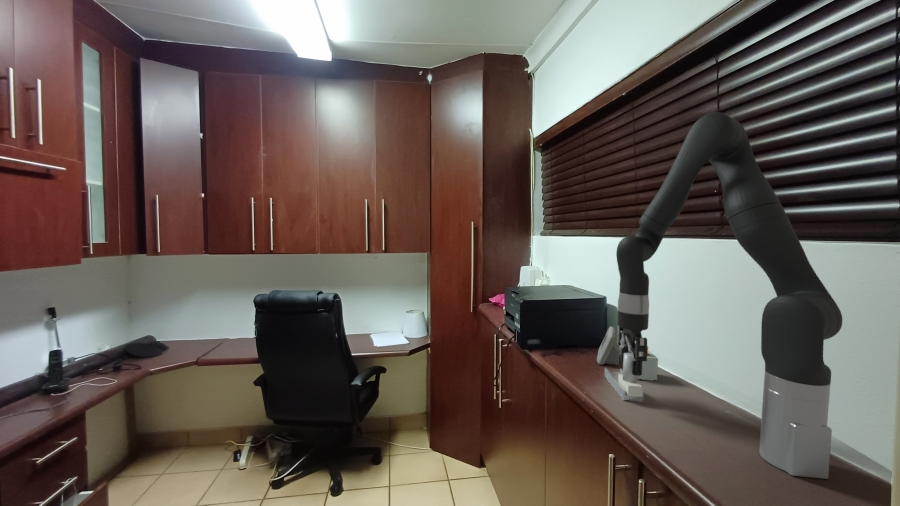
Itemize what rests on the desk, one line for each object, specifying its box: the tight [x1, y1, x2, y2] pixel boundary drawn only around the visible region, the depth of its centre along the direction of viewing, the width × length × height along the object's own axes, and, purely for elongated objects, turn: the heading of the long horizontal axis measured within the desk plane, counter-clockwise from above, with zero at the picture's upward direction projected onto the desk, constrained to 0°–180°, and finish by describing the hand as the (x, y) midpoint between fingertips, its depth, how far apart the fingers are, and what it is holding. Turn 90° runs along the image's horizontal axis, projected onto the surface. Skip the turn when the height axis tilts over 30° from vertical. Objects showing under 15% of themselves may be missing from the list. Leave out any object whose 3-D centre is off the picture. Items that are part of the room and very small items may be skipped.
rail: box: [604, 367, 645, 403], centre depth 105 cm, size 17×5×3 cm, turn 173°
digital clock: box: [596, 326, 620, 366], centre depth 129 cm, size 16×9×11 cm, turn 144°
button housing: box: [628, 350, 659, 382], centre depth 115 cm, size 7×7×7 cm
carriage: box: [618, 353, 643, 397], centre depth 99 cm, size 8×4×10 cm, turn 173°
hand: (630, 369), depth 99 cm, fingers open, 8 cm apart
